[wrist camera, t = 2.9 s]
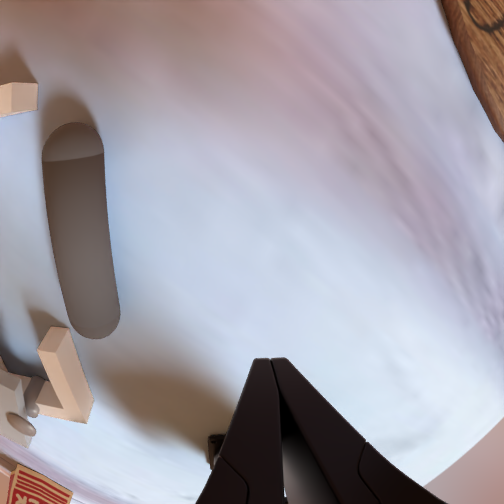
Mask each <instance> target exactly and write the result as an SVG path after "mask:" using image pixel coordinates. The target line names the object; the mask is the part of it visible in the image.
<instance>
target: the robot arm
mask: <svg viewBox="0 0 504 504" xmlns="http://www.w3.org/2000/svg"><path fill="white" fill-rule="evenodd" d="M208 447H209V459H210V469H211V470H212V472H211V474H210V476H209V478H208V481H207V483H206V485H205V487H204V489H203V491H202V493H201V494H200V496H199V498H198V500H197V501H196V503H195V504H448V503H446V502H444V501H442V500H441V499H439V498H438V497H436V496H435V495H433V494H432V493H430V492H429V491H427V490H426V489H424V488H423V487H422V486H420V485H419V484H418V483H416V482H415V481H413V480H412V479H411V478H409V477H408V476H407V475H405V474H404V473H403V472H401V471H400V470H399V469H398V468H396V467H395V466H394V465H393V464H391V463H390V462H389V461H388V460H387V459H386V458H385V457H383V456H382V455H381V454H380V453H379V452H378V451H377V450H376V449H375V448H374V447H373V446H372V445H371V444H370V443H369V442H366V439H365V438H364V437H363V436H361V435H360V434H359V433H358V432H357V431H356V430H355V429H354V428H353V427H352V426H351V425H350V424H349V423H348V422H347V420H346V419H345V418H344V417H343V416H342V415H341V414H340V413H339V412H338V411H337V410H336V409H335V408H334V407H333V406H332V405H331V404H330V403H329V402H328V401H327V400H326V399H325V398H324V397H323V396H322V395H321V394H320V393H319V392H318V391H317V390H316V389H315V388H314V387H313V386H312V385H311V383H310V382H309V381H308V380H307V379H306V378H305V377H304V376H303V375H302V374H301V373H300V372H299V371H298V370H297V369H296V368H295V367H294V365H293V364H292V363H291V362H290V361H289V360H288V359H287V358H284V357H282V358H271V359H269V358H255V359H254V360H253V363H252V366H251V368H250V371H249V374H248V377H247V380H246V382H245V385H244V388H243V391H242V393H241V396H240V399H239V402H238V404H237V407H236V410H235V412H234V415H233V418H232V420H231V423H230V426H229V428H228V431H227V434H226V436H210V437H208ZM284 488H285V492H286V496H287V497H284Z"/></svg>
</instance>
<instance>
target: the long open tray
mask: <svg viewBox="0 0 504 504" xmlns="http://www.w3.org/2000/svg"><path fill="white" fill-rule="evenodd" d="M37 98H38V83H19V82H11V83H8V84H4V85H1V86H0V118H1V117H5V116H9V115H14V114H18V113H23V112H28V111H33V110H37ZM37 352H38V354H39V357H40V359H41V361H42V364H43V366H44V368H45V371H46V373H47V375H48V377H49V380H50V381H45V380H44V379H43V378H41V377H39V376H33V377H32V378H30V377H26V376H21V375H17V374H12V373H9V374H11V375H13V376H15V377H17V378H19V379H21V384H22V390H23V397H24V402H25V408H26V413H27V416H29V417H32V418H36V417H37V416H38V414H41V415H46V416H50V417H54V418H59V419H64V420H69V421H74V422H79V423H85V424H87V422H88V419H89V415H90V412H91V409H92V406H93V403H94V398H93V395H92V393H91V390H90V388H89V385H88V383H87V380H86V377H85V375H84V372H83V369H82V366H81V363H80V361H79V358H78V355H77V352H76V349H75V346H74V343H73V340H72V336H71V333H70V330H69V328H62V327H53V326H51V327H50V329H49V331H48V332H47V334H46V336H45V337H44V339H43V340H42V342H41V344H40V345H39V347H38V349H37ZM0 369H2V370H3V371H5V372H7V373H8V371H7V369H6V367H5V365H4V362H3V360H2V358H1V356H0Z"/></svg>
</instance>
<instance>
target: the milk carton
mask: <svg viewBox="0 0 504 504" xmlns="http://www.w3.org/2000/svg"><path fill="white" fill-rule="evenodd" d="M72 495H73V492H71V491H69V490H67V489H65V488H64V487H62V486H60V485H58V484H57V483H55V482H53V481H52V480H50V479H48V478H47V477H45V476H44V475H41V474H39V473H37V472H35V471H32V470H30V469H28V468H26V467H24V466H22V465H20V464H17V468H16V470H14V471H12V472H11V476H10V483H9V491H8V498H7V503H6V504H70V501H71V498H72Z"/></svg>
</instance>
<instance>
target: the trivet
mask: <svg viewBox="0 0 504 504" xmlns="http://www.w3.org/2000/svg"><path fill="white" fill-rule="evenodd" d="M441 2H442V5H443V8H444V11H445V14H446V17H447V20H448V24H449V27H450V30H451V34H452V38H453V41H454V44H455V46H456V48H457V50H458V53H459V55H460V57H461V60H462V62H463V64H464V67H465V69H466V72H467V74H468V77H469V80H470V82H471V85H472V88H473V90H474V92H475V94H476V96H477V97H478V99H479V101H480V103H481V105H482V107H483V108H484V110H485V112H486V114H487V116H488V118H489V120H490V122H491V124H492V126H493V128H494V130H495V132H496V133H497V134H498V136H499V137H500V138H501V140H502V141H503V142H504V0H441Z"/></svg>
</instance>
